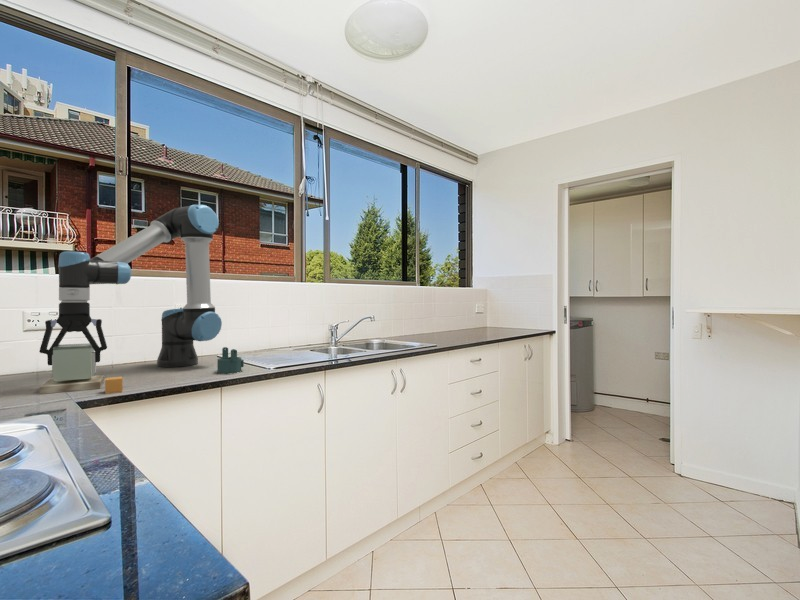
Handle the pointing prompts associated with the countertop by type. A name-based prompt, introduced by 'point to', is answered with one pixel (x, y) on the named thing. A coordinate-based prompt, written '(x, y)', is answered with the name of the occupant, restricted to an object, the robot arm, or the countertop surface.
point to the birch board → (72, 385)
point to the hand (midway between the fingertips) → (74, 374)
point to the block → (113, 385)
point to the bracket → (229, 362)
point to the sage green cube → (72, 362)
